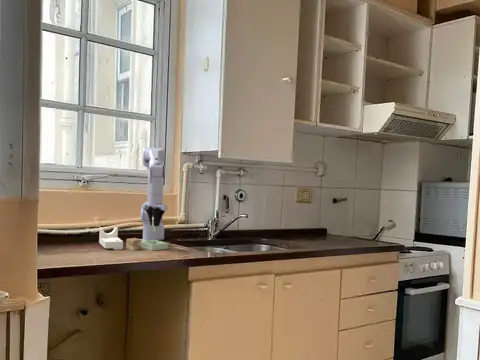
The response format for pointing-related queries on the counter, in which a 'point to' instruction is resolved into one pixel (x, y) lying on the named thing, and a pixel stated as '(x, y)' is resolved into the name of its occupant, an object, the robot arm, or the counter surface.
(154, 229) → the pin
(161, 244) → the tray
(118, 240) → the bracket
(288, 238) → the counter surface
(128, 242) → the chock
